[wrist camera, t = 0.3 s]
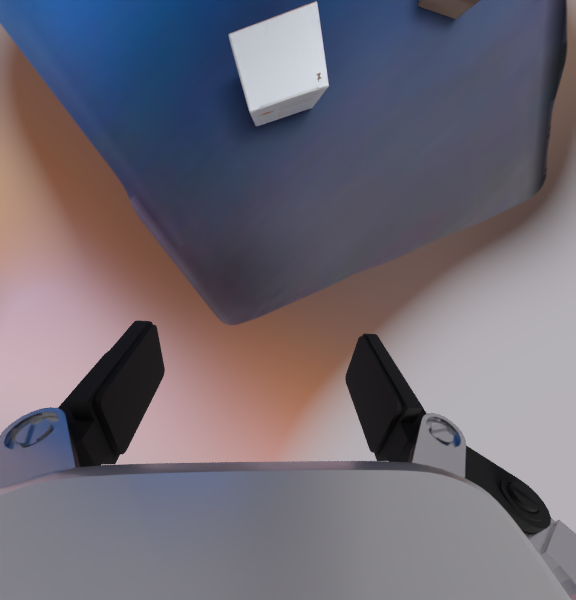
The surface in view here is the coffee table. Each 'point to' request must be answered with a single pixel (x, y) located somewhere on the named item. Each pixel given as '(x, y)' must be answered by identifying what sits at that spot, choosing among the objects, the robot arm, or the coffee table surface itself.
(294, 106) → the small box
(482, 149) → the coffee table surface
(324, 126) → the coffee table surface
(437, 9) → the walnut block
